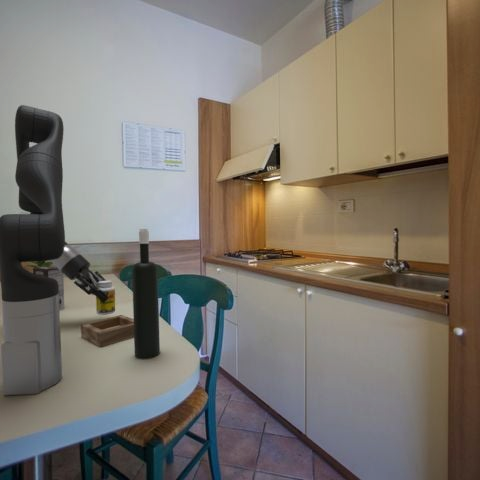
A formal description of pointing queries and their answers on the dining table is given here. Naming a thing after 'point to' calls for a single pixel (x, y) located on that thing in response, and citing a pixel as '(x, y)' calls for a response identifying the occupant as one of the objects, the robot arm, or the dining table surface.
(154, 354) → the wine bottle
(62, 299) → the coffee box
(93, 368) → the dining table surface
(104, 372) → the dining table surface
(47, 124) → the robot arm
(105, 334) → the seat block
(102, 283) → the supplement bottle
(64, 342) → the dining table surface
